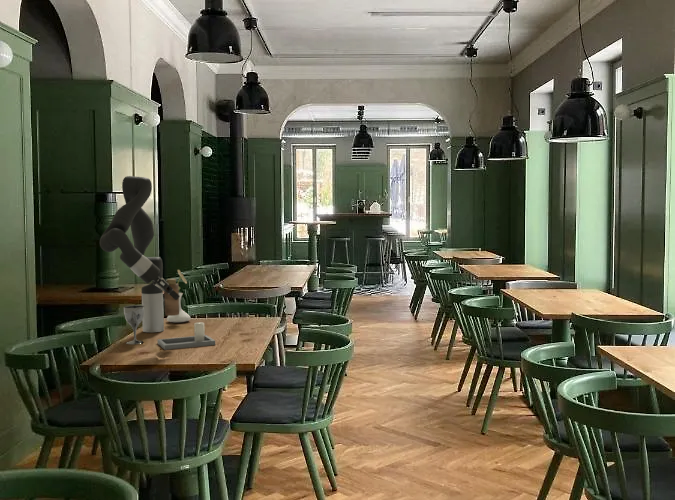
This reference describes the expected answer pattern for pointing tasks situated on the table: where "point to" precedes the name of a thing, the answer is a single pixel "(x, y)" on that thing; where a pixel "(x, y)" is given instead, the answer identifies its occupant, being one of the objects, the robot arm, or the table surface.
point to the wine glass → (134, 319)
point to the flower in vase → (182, 315)
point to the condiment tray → (184, 342)
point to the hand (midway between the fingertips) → (176, 297)
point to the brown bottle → (171, 299)
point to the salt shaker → (199, 331)
